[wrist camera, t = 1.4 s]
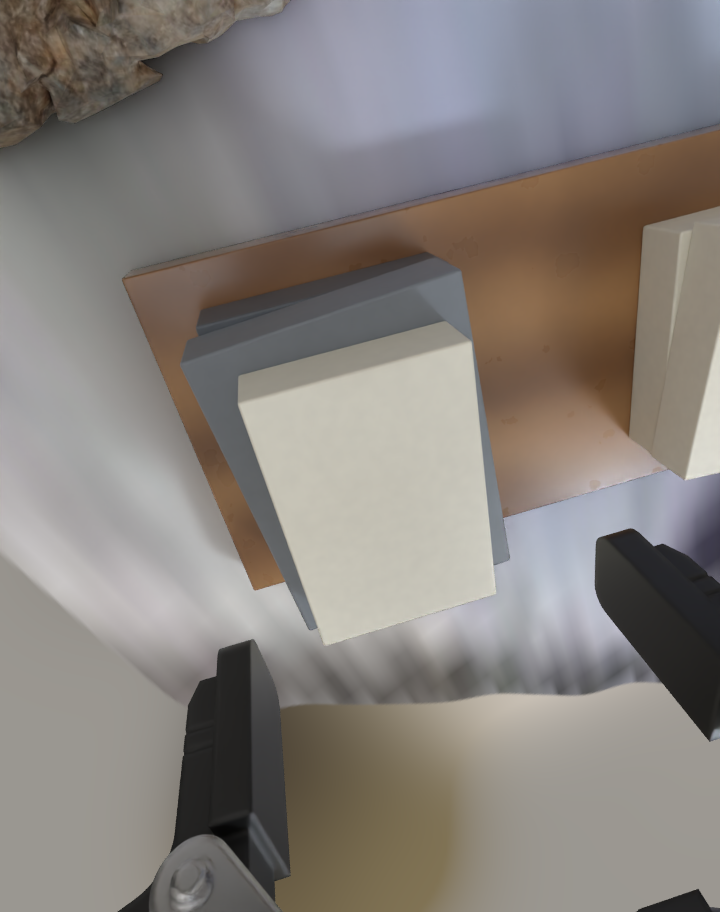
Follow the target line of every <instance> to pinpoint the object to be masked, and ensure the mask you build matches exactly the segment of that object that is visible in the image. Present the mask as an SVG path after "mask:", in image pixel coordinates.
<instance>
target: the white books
mask: <svg viewBox="0 0 720 912" xmlns="http://www.w3.org/2000/svg"><path fill="white" fill-rule="evenodd" d="M629 438H630V439H632V440H633V441H635V442H636V443H637V444H639V445H640V446H642V447H643V448H644V449H646V450H647V451H649V452H650V453H651V456H652V457H653V458H654V459H656V460H657V461H658V462H660V463H661V464H663V465H664V466H665V467H667V468H668V469H670V470H671V471H672V472H674V473H675V474H676V475H678V476H679V477H681V478H682V479H683V480H689V479H693V478H698V477H702V476H707V475H712V474H716V473H720V206H719V207H715V208H711V209H707V210H703V211H700V212H696V213H692V214H688V215H684V216H680V217H676V218H673V219H669V220H665V221H661V222H657V223H653V224H650V225H646V226H644V227H643V238H642V252H641V267H640V282H639V296H638V311H637V325H636V340H635V355H634V369H633V384H632V399H631V413H630V428H629Z"/></svg>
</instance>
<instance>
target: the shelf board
mask: <svg viewBox="0 0 720 912" xmlns="http://www.w3.org/2000/svg"><path fill="white" fill-rule="evenodd" d="M719 206H720V124H717V125H713V126H709V127H705V128H701V129H697V130H693V131H689V132H685V133H681V134H677V135H673V136H669V137H665V138H661V139H657V140H653V141H649V142H645V143H641V144H637V145H633V146H629V147H625V148H621V149H617V150H613V151H609V152H605V153H601V154H597V155H593V156H589V157H585V158H581V159H577V160H573V161H569V162H565V163H561V164H557V165H553V166H549V167H545V168H541V169H537V170H533V171H529V172H525V173H521V174H517V175H513V176H509V177H505V178H501V179H497V180H493V181H489V182H485V183H481V184H477V185H473V186H469V187H465V188H461V189H457V190H453V191H449V192H445V193H441V194H436V195H432V196H428V197H424V198H420V199H416V200H412V201H408V202H404V203H400V204H396V205H392V206H388V207H384V208H380V209H376V210H372V211H368V212H364V213H360V214H356V215H352V216H348V217H344V218H340V219H336V220H332V221H328V222H324V223H320V224H316V225H312V226H308V227H304V228H300V229H296V230H292V231H288V232H284V233H280V234H276V235H272V236H268V237H264V238H260V239H256V240H252V241H248V242H244V243H240V244H236V245H232V246H228V247H224V248H220V249H216V250H212V251H208V252H204V253H200V254H196V255H192V256H188V257H184V258H180V259H176V260H172V261H168V262H164V263H160V264H156V265H151V266H147V267H143V268H139V269H135V270H131V271H130V272H129V273H128V274H127V275H126V276H125V277H124V278H123V279H122V281H123V284H124V286H125V288H126V291H127V293H128V295H129V298H130V300H131V302H132V305H133V307H134V309H135V312H136V314H137V317H138V319H139V321H140V324H141V326H142V328H143V331H144V333H145V335H146V338H147V340H148V342H149V345H150V347H151V349H152V352H153V354H154V356H155V359H156V361H157V363H158V366H159V368H160V371H161V373H162V375H163V378H164V380H165V382H166V385H167V387H168V389H169V392H170V394H171V396H172V399H173V401H174V403H175V406H176V408H177V410H178V413H179V415H180V417H181V420H182V422H183V424H184V427H185V429H186V432H187V434H188V436H189V439H190V441H191V443H192V446H193V448H194V450H195V453H196V455H197V457H198V460H199V462H200V464H201V467H202V469H203V471H204V474H205V476H206V478H207V481H208V483H209V486H210V488H211V490H212V493H213V495H214V497H215V500H216V502H217V504H218V507H219V509H220V511H221V514H222V516H223V518H224V521H225V523H226V525H227V528H228V530H229V532H230V535H231V537H232V539H233V542H234V544H235V547H236V549H237V551H238V554H239V556H240V558H241V561H242V563H243V565H244V568H245V570H246V572H247V575H248V577H249V579H250V582H251V584H252V586H253V589H254V590H258V589H262V588H265V587H268V586H272V585H275V584H279V583H282V582H285V580H284V578H283V576H282V574H281V572H280V570H279V568H278V565H277V563H276V561H275V559H274V557H273V555H272V553H271V551H270V549H269V547H268V545H267V543H266V541H265V539H264V537H263V535H262V533H261V531H260V529H259V527H258V524H257V522H256V520H255V518H254V516H253V514H252V512H251V510H250V508H249V506H248V504H247V502H246V500H245V498H244V496H243V494H242V492H241V490H240V488H239V485H238V483H237V481H236V479H235V477H234V475H233V473H232V471H231V469H230V467H229V465H228V463H227V461H226V459H225V457H224V455H223V453H222V451H221V449H220V447H219V444H218V442H217V440H216V438H215V436H214V434H213V432H212V430H211V428H210V426H209V424H208V422H207V420H206V418H205V416H204V414H203V412H202V410H201V408H200V405H199V403H198V401H197V399H196V397H195V395H194V393H193V391H192V389H191V387H190V385H189V383H188V381H187V379H186V377H185V375H184V373H183V371H182V369H181V367H180V362H181V359H182V356H183V352H184V349H185V346H186V342H187V341H188V340H189V339H192V338H195V337H198V334H197V331H196V325H197V321H198V318H199V314H200V311H201V310H202V309H206V308H210V307H214V306H218V305H222V304H226V303H229V302H233V301H237V300H241V299H245V298H249V297H253V296H257V295H261V294H265V293H268V292H272V291H276V290H280V289H284V288H288V287H292V286H296V285H300V284H304V283H308V282H311V281H315V280H319V279H323V278H327V277H331V276H335V275H339V274H343V273H347V272H350V271H354V270H358V269H362V268H366V267H370V266H374V265H378V264H382V263H386V262H390V261H393V260H397V259H401V258H405V257H409V256H413V255H417V254H421V253H425V252H429V253H431V254H433V255H435V256H437V257H439V258H441V259H443V260H445V261H447V262H448V263H449V264H451V265H453V266H455V267H457V268H459V269H460V270H461V272H462V278H463V284H464V290H465V296H466V302H467V308H468V314H469V319H470V325H471V331H472V337H473V343H474V349H475V355H476V361H477V367H478V373H479V378H480V384H481V390H482V396H483V402H484V408H485V414H486V420H487V426H488V432H489V437H490V443H491V449H492V455H493V461H494V467H495V473H496V479H497V485H498V491H499V496H500V502H501V508H502V514H503V518H504V517H508V516H511V515H515V514H518V513H522V512H525V511H528V510H532V509H535V508H539V507H542V506H545V505H549V504H552V503H556V502H559V501H563V500H566V499H569V498H573V497H576V496H580V495H583V494H587V493H590V492H593V491H597V490H600V489H604V488H607V487H610V486H614V485H617V484H621V483H624V482H628V481H631V480H634V479H638V478H641V477H645V476H648V475H652V474H655V473H658V472H662V471H665V470H669V469H668V468H667V467H665V466H664V465H663V464H661V463H660V462H658V461H657V460H656V459H654V458H653V457H652V456H651V453H650V452H649V451H647V450H646V449H644V448H643V447H642V446H640V445H639V444H637V443H636V442H635V441H633V440H632V439H630V438H629V428H630V413H631V399H632V384H633V369H634V355H635V340H636V325H637V311H638V296H639V282H640V267H641V252H642V238H643V227H644V226H646V225H650V224H653V223H657V222H661V221H665V220H669V219H673V218H676V217H680V216H684V215H688V214H692V213H696V212H700V211H703V210H707V209H711V208H715V207H719Z"/></svg>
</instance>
